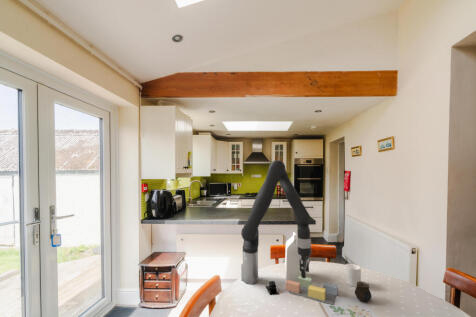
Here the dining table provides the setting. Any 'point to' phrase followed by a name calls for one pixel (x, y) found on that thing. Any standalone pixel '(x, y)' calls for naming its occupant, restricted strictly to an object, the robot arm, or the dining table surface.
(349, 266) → the white cup
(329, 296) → the mat
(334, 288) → the blue block
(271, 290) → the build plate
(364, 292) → the mate gourd
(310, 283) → the green block
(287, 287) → the terracotta block
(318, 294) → the mustard block
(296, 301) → the dining table surface
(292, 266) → the milk
